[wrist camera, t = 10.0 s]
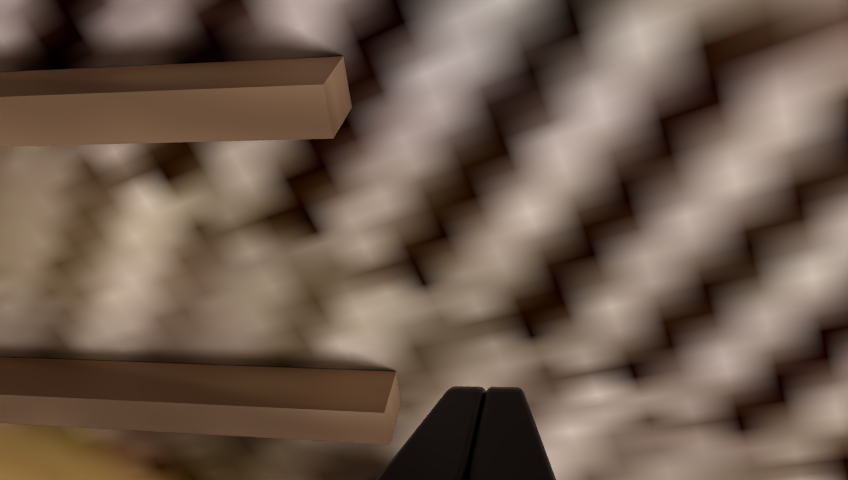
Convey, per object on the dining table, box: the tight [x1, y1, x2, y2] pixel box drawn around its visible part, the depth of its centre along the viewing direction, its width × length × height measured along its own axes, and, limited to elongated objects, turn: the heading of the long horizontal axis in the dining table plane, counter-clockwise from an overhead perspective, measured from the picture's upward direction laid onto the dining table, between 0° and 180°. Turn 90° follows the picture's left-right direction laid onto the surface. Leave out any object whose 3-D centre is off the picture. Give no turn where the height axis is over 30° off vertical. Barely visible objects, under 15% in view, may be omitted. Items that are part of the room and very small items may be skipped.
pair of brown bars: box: [0, 56, 401, 445], centre depth 26 cm, size 13×16×2 cm
